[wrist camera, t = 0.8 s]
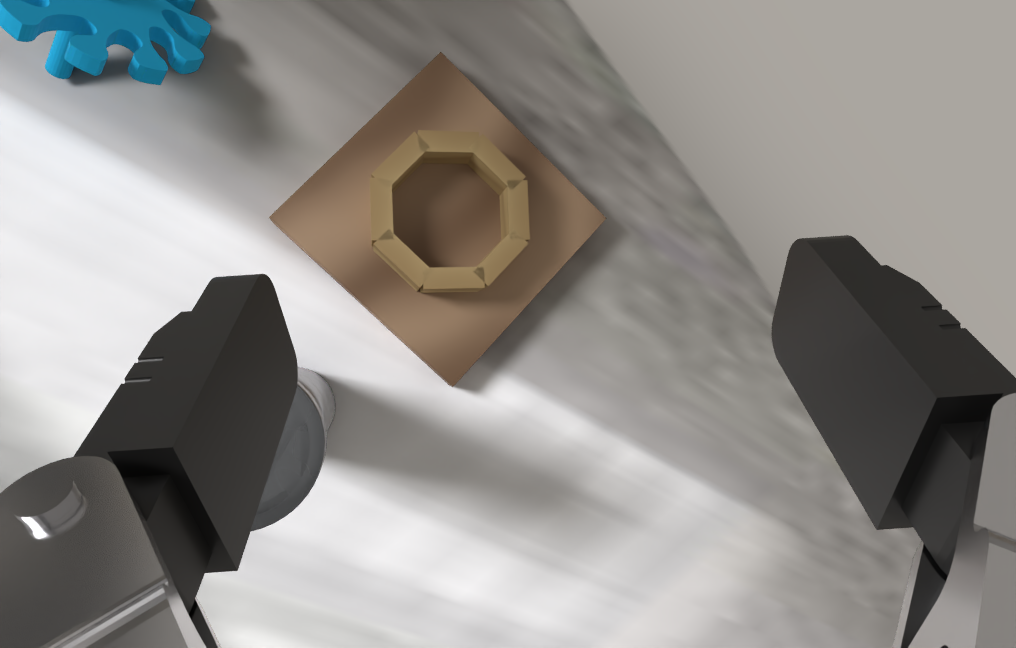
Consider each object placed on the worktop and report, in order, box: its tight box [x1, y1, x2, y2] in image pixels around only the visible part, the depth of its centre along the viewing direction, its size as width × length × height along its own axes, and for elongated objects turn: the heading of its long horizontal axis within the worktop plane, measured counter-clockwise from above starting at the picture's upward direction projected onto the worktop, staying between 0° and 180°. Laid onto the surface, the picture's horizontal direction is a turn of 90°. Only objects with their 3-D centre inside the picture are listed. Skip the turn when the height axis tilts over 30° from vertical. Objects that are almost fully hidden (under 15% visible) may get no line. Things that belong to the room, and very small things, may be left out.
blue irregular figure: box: [0, 0, 211, 85], centre depth 29 cm, size 11×6×10 cm
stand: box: [269, 52, 606, 387], centre depth 33 cm, size 12×12×4 cm
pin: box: [251, 367, 335, 531], centre depth 25 cm, size 5×5×14 cm
